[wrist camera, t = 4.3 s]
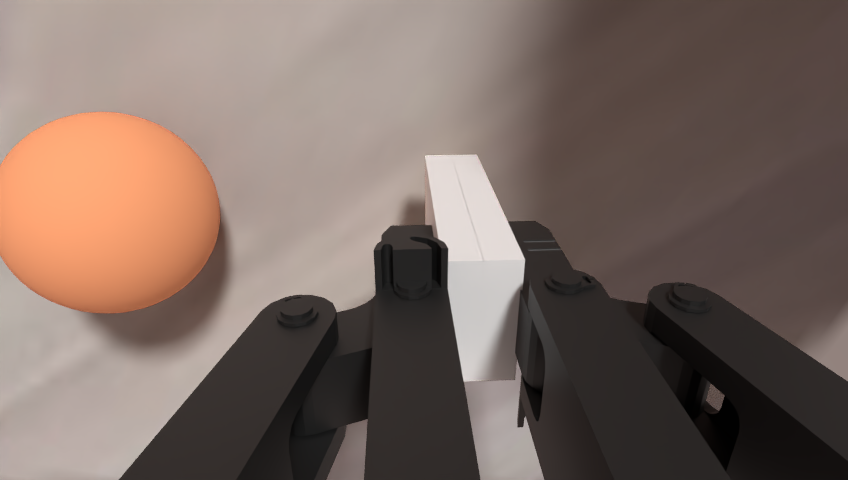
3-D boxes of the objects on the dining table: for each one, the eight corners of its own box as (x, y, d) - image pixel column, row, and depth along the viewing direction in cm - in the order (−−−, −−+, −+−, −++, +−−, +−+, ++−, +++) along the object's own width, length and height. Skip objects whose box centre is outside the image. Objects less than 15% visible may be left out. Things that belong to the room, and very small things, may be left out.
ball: (227, 92, 17) (153, 141, 12) (252, 254, 19) (200, 352, 14) (41, 94, 16) (-115, 145, 11) (90, 258, 19) (-21, 358, 14)
